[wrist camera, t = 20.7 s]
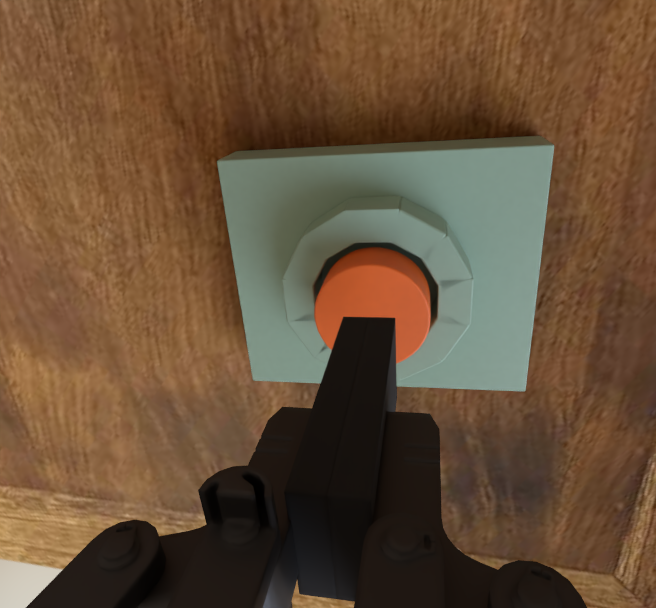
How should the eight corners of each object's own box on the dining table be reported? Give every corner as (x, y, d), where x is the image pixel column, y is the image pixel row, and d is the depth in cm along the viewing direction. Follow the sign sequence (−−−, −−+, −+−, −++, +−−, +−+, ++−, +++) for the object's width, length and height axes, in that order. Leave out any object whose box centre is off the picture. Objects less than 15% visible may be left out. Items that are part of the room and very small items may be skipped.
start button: (431, 245, 17) (431, 263, 16) (429, 344, 19) (430, 370, 17) (318, 247, 18) (308, 264, 16) (326, 342, 20) (318, 366, 18)
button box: (541, 135, 18) (568, 153, 15) (517, 363, 23) (534, 419, 19) (235, 151, 21) (196, 169, 17) (265, 356, 25) (239, 404, 21)
